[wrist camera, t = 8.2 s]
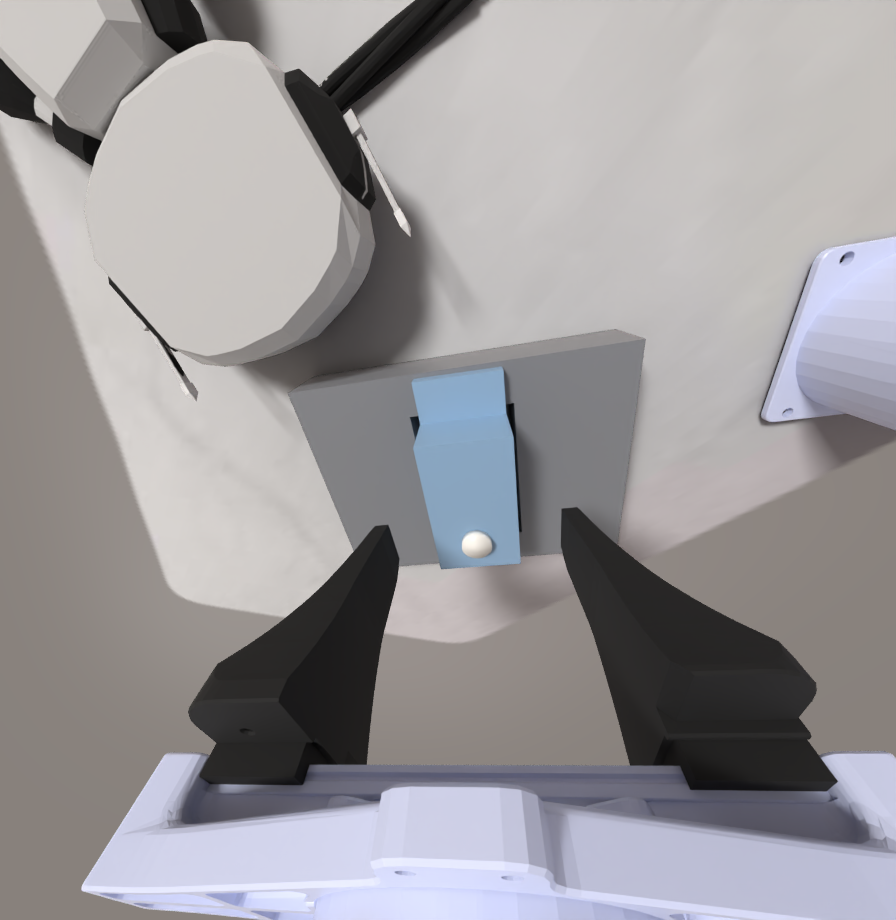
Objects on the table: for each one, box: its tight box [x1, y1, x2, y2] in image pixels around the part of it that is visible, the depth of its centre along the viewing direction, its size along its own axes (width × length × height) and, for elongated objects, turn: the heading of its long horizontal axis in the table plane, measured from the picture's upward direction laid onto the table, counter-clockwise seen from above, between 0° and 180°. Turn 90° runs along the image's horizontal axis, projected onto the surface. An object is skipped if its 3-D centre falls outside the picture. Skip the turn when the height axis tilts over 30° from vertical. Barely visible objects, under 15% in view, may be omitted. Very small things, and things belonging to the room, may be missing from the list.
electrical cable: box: [319, 0, 472, 111], centre depth 12 cm, size 12×1×1 cm, turn 117°
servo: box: [412, 367, 521, 569], centre depth 16 cm, size 4×11×6 cm, turn 9°
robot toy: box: [0, 0, 411, 401], centre depth 12 cm, size 12×4×15 cm
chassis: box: [288, 329, 646, 566], centre depth 18 cm, size 16×12×3 cm
